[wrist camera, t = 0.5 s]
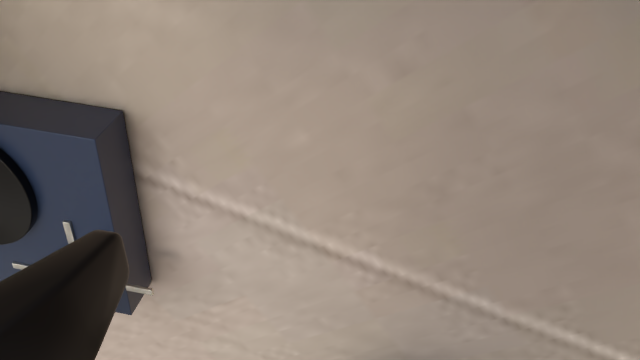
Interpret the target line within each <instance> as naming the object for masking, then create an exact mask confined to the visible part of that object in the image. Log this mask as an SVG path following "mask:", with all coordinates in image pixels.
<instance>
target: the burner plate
mask: <svg viewBox="0 0 640 360" xmlns="http://www.w3.org/2000/svg"><path fill="white" fill-rule="evenodd" d="M36 218H37V201H36V197H35V194H34V191H33V188H32V186H31V184H30V182H29V180H28V179H27V177H26V176H25V174H24V173H23V171H22V170H21V169H20V167H19V166H18V165H17V164H16V163H15V162H14V161H13V159H12V158H11V157H10V156H9V155H8V154H6V153H5V152H4V151H3V150H2V149H1V148H0V245H5V244H10V243H13V242H16V241H18V240H20V239H21V238H23V237H24V236H25V235H26V234H27V233H28V231H29V230H30V229H31V228H32V227H33V225H34V223H35V221H36Z"/></svg>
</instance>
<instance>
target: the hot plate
mask: <svg viewBox="0 0 640 360" xmlns="http://www.w3.org/2000/svg"><path fill="white" fill-rule="evenodd" d="M0 148H1V149H2V150H3V151H4V152H5V153H6V154H8V155H9V156H10V157H11V158H12V159H13V161H14V162H15V163H16V164H17V165H18V166H19V167H20V169H21V170H22V171H23V173H24V174H25V176H26V177H27V179H28V180H29V182H30V184H31V186H32V188H33V191H34V194H35V197H36V201H37V218H36V221H35V223H34V225H33V227H32V228H31V229H30V230H29V231H28V233H27V234H26V235H25V236H24V237H23V238H21V239H20V240H18V241H16V242H13V243H10V244H5V245H0V281H2V280H4V279H6V278H8V277H10V276H11V275H13V274H15V273H17V272H19V271H20V270H22V269H24V268H26V267H28V266H30V265H31V264H33V263H35V262H37V261H39V260H41V259H42V258H44V257H46V256H48V255H50V254H51V253H53V252H55V251H57V250H59V249H61V248H62V247H64V246H66V245H68V244H70V243H72V242H73V241H75V240H77V239H79V238H81V237H83V236H84V235H86V234H88V233H90V232H92V231H94V230H104V231H111V232H116V233H118V234H120V235H121V237H122V239H123V243H124V247H125V252H126V256H127V260H128V265H129V278H128V281H127V284H126V287H125V289H124V291H123V294H122V296H121V299H120V301H119V303H118V306H117V308H116V311H115V312H118V313H123V314H128V315H132V313H133V312H134V310H135V308H136V307H137V305H138V303H139V302H140V300H141V298H142V297H143V295H144V294H147V295H152V296H153V294H154V292H153V289H152V288H148V287H149V285H150V283H151V275H150V269H149V263H148V257H147V252H146V246H145V240H144V234H143V228H142V222H141V216H140V210H139V204H138V198H137V192H136V186H135V180H134V174H133V169H132V163H131V157H130V151H129V145H128V139H127V133H126V127H125V121H124V115H123V111H121V110H114V109H108V108H102V107H95V106H89V105H83V104H76V103H70V102H64V101H57V100H51V99H44V98H38V97H32V96H25V95H19V94H13V93H6V92H0Z"/></svg>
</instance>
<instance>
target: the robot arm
mask: <svg viewBox="0 0 640 360" xmlns="http://www.w3.org/2000/svg"><path fill="white" fill-rule="evenodd" d="M128 278H129V265H128V260H127V256H126V252H125V247H124V243H123V239H122V237H121V235H120V234H118V233H116V232H111V231H104V230H94V231H92V232H90V233H88V234H86V235H84V236H83V237H81V238H79V239H77V240H75V241H73V242H72V243H70V244H68V245H66V246H64V247H62V248H61V249H59V250H57V251H55V252H53V253H51V254H50V255H48V256H46V257H44V258H42V259H41V260H39V261H37V262H35V263H33V264H31V265H30V266H28V267H26V268H24V269H22V270H20V271H19V272H17V273H15V274H13V275H11V276H10V277H8V278H6V279H4V280H2V281H0V360H95V358H96V355H97V353H98V351H99V349H100V346H101V344H102V342H103V339H104V337H105V334H106V332H107V330H108V327H109V325H110V323H111V320H112V318H113V315H114V313H115V311H116V308H117V306H118V303H119V301H120V299H121V296H122V294H123V291H124V289H125V287H126V284H127V281H128Z"/></svg>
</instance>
